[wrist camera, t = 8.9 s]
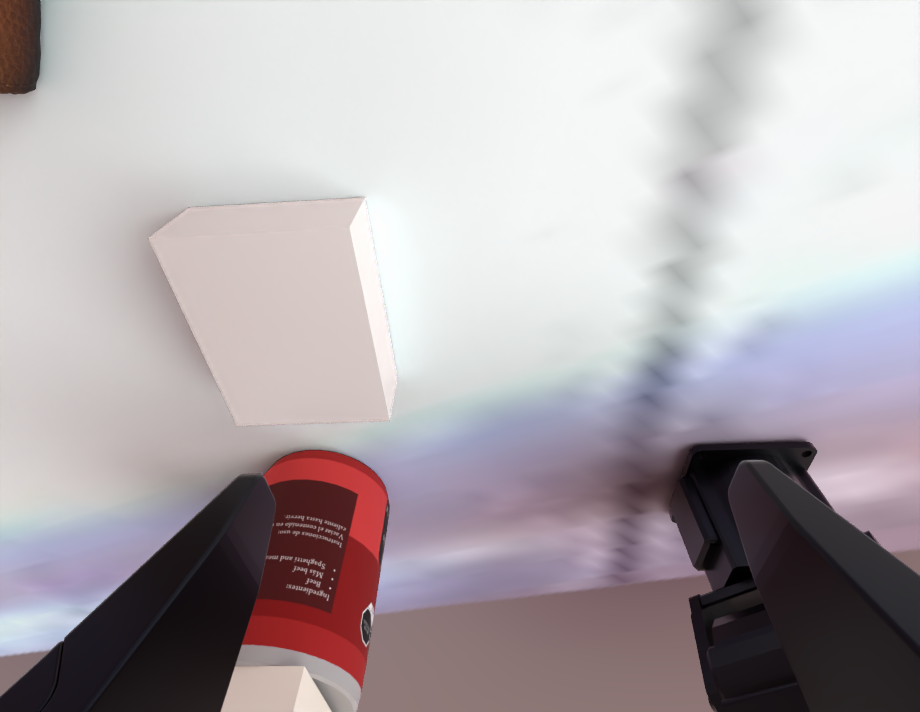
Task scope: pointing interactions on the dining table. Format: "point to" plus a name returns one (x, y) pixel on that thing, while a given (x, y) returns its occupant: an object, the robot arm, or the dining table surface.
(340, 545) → the canned food
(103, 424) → the dining table surface
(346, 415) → the pale pink chamfered block
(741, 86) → the dining table surface
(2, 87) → the sunglasses case
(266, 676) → the cream box
